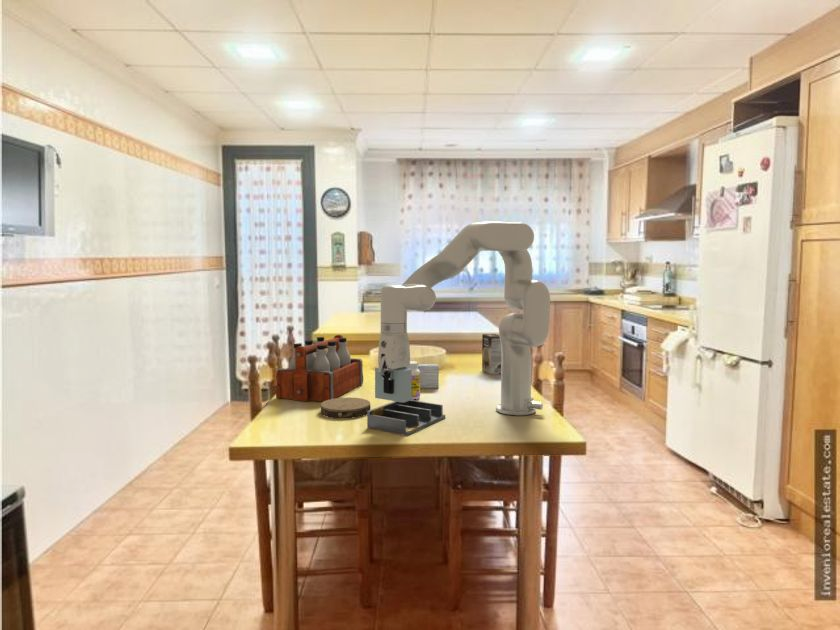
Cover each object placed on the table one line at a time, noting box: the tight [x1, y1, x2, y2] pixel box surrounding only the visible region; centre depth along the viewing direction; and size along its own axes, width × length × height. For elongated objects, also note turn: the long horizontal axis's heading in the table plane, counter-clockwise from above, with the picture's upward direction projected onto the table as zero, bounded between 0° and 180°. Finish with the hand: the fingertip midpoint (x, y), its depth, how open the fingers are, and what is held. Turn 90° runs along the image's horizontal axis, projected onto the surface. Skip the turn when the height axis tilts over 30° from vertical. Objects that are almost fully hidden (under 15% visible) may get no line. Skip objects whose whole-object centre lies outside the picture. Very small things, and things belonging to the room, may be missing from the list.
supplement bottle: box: [407, 360, 421, 400], centre depth 204 cm, size 7×7×13 cm
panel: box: [374, 366, 412, 403], centre depth 168 cm, size 10×4×9 cm, turn 57°
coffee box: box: [481, 333, 502, 375], centre depth 251 cm, size 9×6×16 cm
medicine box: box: [417, 363, 440, 389], centre depth 222 cm, size 8×4×9 cm, turn 92°
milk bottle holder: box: [275, 334, 364, 402], centre depth 215 cm, size 21×35×19 cm, turn 163°
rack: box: [366, 400, 446, 437], centre depth 174 cm, size 14×21×5 cm, turn 147°
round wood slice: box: [320, 397, 371, 419], centre depth 187 cm, size 16×16×3 cm
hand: (393, 391), depth 168 cm, fingers closed on panel, 4 cm apart
